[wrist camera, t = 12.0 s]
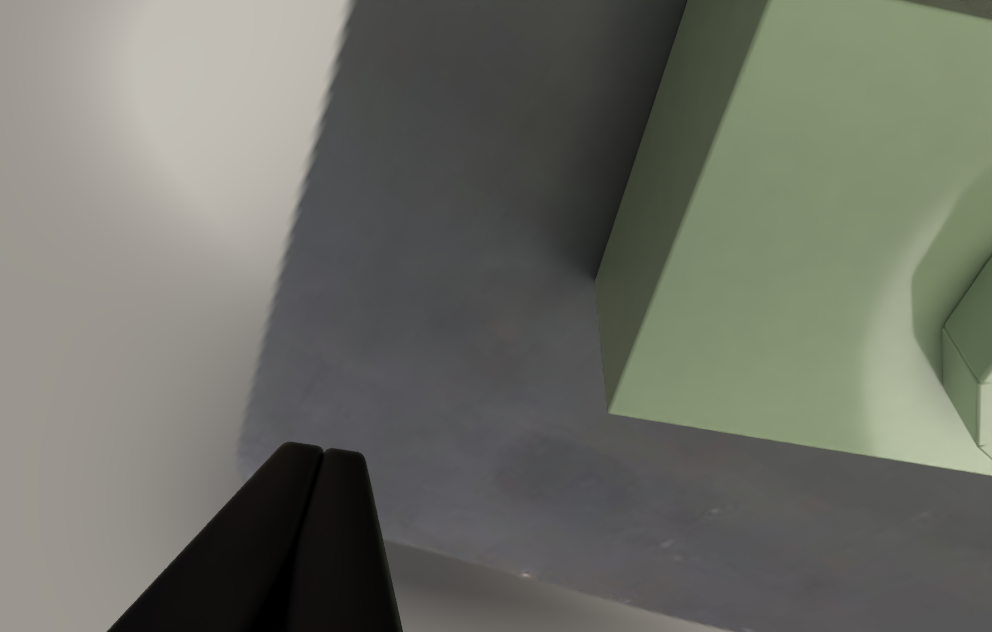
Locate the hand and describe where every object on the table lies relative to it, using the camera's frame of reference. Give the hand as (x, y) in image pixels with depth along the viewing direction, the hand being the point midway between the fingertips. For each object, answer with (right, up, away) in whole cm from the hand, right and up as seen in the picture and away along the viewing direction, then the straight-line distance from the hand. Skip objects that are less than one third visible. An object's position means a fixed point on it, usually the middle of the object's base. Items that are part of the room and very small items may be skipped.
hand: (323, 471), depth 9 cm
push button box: (+11, +5, +12) cm, 17 cm away
